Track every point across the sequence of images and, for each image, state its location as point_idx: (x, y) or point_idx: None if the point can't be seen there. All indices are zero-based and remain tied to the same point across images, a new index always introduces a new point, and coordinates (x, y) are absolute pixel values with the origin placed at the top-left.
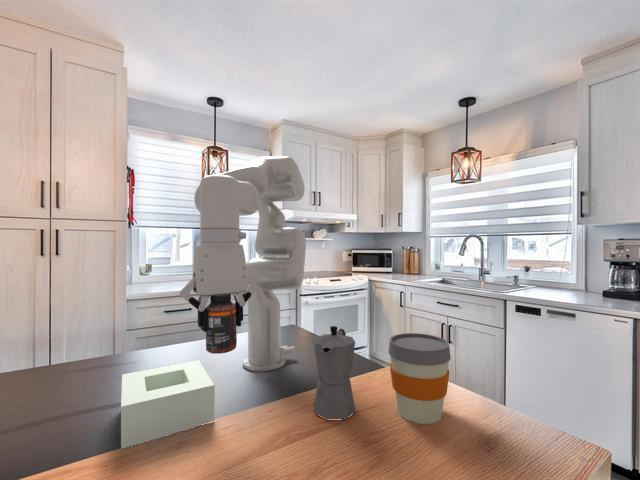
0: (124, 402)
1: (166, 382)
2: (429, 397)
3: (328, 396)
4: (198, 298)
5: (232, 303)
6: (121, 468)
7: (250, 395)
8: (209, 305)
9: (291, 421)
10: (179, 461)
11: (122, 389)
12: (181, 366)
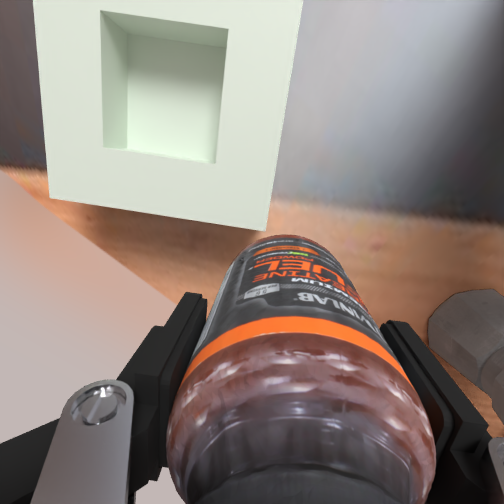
0: (55, 179)
1: (180, 35)
2: None
3: (460, 371)
4: (36, 499)
5: None
6: (108, 240)
7: (389, 150)
8: (181, 485)
9: (379, 304)
10: (183, 280)
11: (42, 81)
12: None
